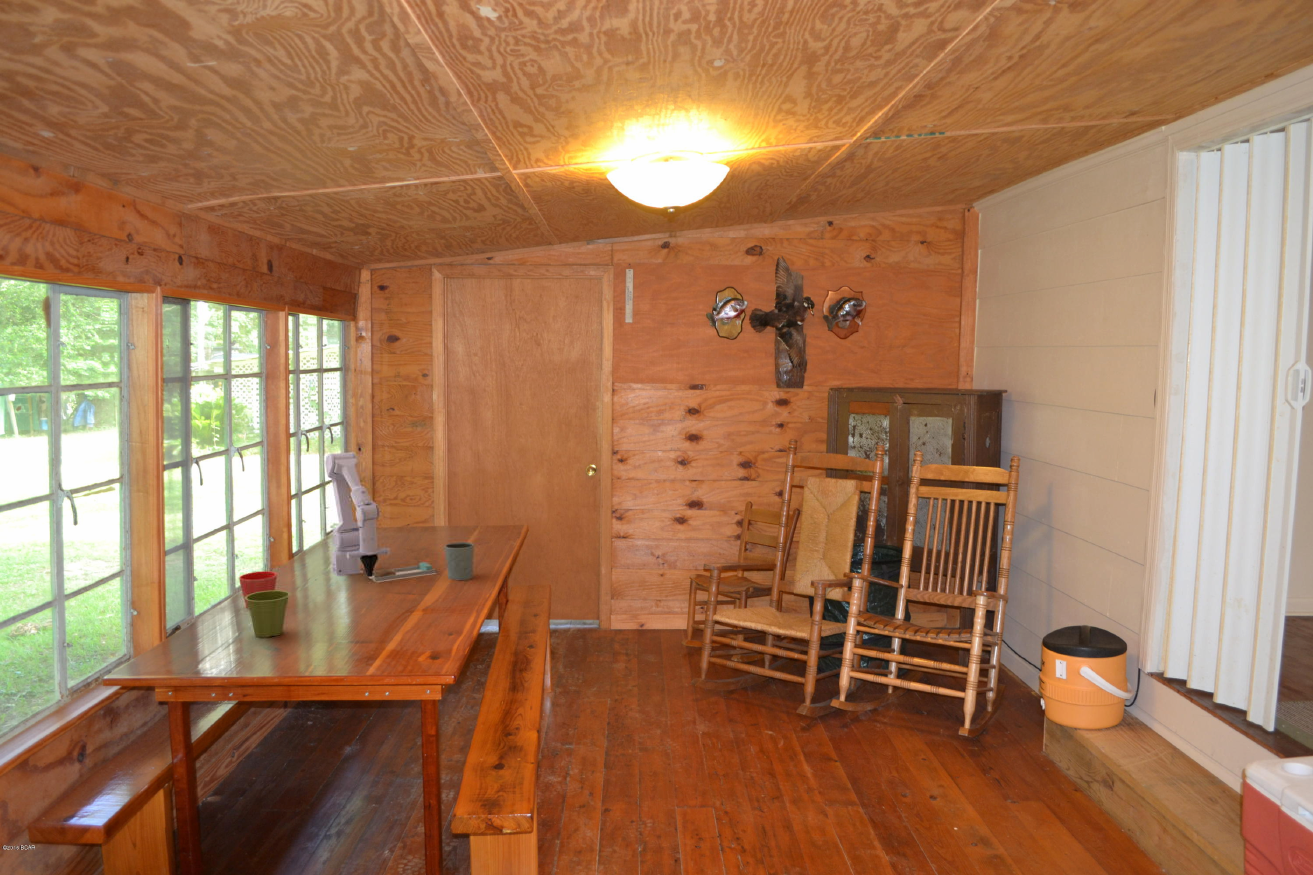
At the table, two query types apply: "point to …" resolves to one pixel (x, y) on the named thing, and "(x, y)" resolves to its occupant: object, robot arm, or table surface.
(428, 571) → the track
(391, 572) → the block
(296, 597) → the table surface
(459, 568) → the grey tapered pot
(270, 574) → the flower pot
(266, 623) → the plant pot
